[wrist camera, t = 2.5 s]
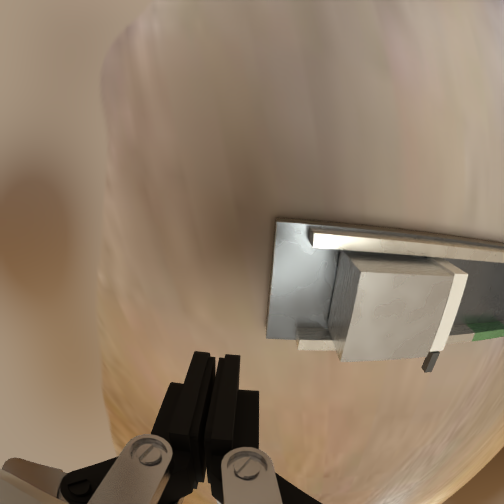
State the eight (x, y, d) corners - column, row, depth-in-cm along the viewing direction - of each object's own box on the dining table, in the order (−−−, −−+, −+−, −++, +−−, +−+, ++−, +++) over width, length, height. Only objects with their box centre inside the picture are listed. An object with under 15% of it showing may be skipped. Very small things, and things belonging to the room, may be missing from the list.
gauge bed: (275, 217, 19) (286, 254, 11) (538, 249, 18) (589, 275, 11) (266, 327, 21) (267, 406, 13) (517, 319, 20) (560, 355, 13)
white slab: (427, 255, 17) (455, 274, 14) (440, 256, 17) (469, 274, 14) (402, 344, 19) (421, 373, 16) (414, 344, 19) (434, 371, 16)
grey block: (340, 248, 17) (361, 271, 13) (421, 255, 17) (453, 276, 13) (327, 326, 19) (340, 361, 15) (403, 325, 19) (426, 356, 15)
